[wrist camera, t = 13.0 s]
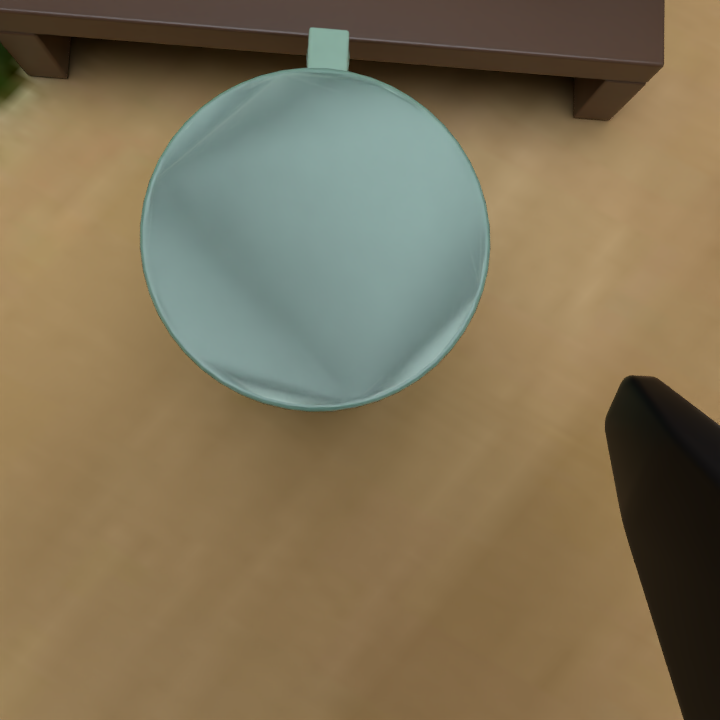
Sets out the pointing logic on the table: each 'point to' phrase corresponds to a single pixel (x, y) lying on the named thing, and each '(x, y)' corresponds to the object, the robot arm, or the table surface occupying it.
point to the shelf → (374, 35)
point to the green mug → (315, 236)
